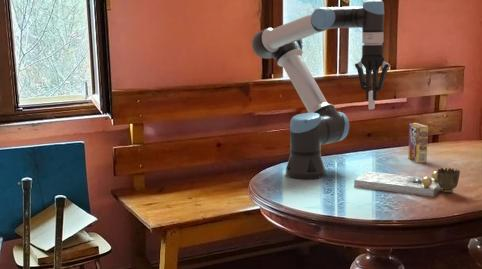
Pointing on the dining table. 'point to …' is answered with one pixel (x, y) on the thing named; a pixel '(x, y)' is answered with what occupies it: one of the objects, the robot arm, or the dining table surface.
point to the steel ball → (417, 181)
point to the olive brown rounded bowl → (448, 179)
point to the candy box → (418, 142)
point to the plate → (396, 183)
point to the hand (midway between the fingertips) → (371, 108)
